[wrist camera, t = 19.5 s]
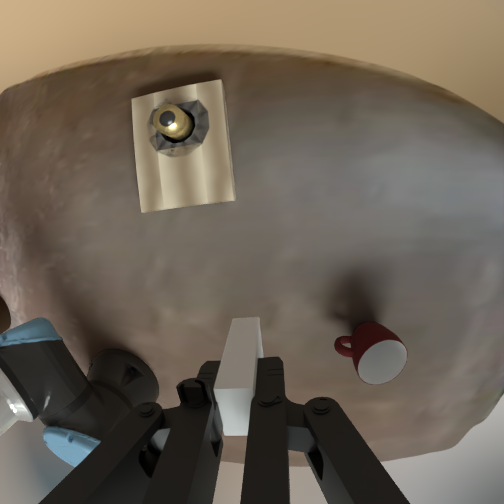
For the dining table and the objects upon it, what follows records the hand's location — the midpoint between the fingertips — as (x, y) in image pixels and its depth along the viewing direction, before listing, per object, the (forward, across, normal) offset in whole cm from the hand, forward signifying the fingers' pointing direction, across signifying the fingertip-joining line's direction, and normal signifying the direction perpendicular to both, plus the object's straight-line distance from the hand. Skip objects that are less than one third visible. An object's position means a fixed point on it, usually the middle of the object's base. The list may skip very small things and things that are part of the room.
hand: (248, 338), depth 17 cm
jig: (+29, -10, +16) cm, 35 cm away
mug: (+30, +15, -17) cm, 37 cm away
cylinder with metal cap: (+29, -10, +19) cm, 36 cm away
